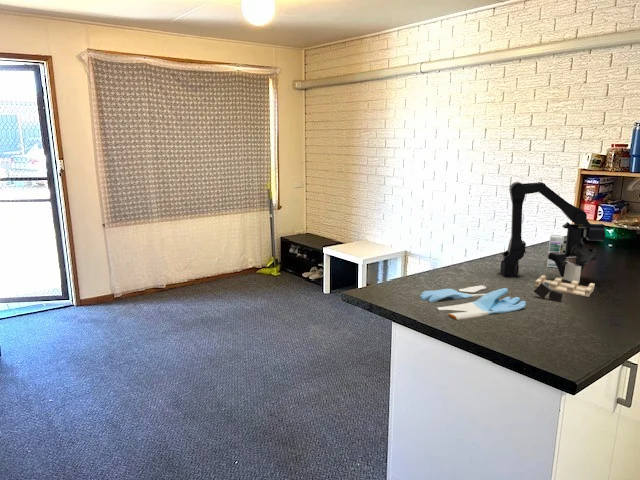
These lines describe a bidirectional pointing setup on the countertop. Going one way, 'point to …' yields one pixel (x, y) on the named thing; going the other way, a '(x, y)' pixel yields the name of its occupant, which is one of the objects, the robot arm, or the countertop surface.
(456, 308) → the rubber gloves
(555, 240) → the syrup box
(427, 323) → the countertop surface
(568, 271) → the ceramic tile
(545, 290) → the black joined square panels
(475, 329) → the countertop surface
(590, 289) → the slotted rack
